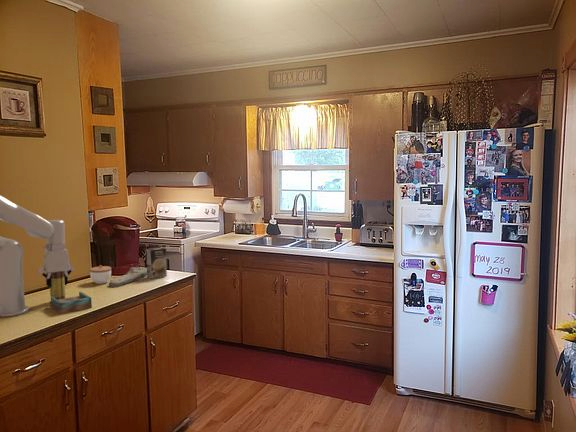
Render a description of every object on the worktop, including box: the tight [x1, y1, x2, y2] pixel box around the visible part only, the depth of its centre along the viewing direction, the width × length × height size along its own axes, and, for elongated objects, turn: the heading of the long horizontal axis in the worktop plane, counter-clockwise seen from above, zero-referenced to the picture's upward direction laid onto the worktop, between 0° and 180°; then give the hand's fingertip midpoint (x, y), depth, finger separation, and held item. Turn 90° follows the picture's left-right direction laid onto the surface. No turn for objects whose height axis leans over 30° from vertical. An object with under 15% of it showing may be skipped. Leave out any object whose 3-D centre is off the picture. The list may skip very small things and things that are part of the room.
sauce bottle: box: [49, 271, 66, 300], centre depth 213 cm, size 6×6×20 cm
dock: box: [50, 291, 93, 315], centre depth 205 cm, size 13×14×4 cm
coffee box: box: [146, 246, 168, 279], centre depth 260 cm, size 9×6×16 cm
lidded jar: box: [89, 264, 112, 285], centre depth 248 cm, size 11×11×9 cm
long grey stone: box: [108, 266, 147, 288], centre depth 256 cm, size 35×5×10 cm
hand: (57, 285), depth 213 cm, fingers closed on sauce bottle, 6 cm apart
